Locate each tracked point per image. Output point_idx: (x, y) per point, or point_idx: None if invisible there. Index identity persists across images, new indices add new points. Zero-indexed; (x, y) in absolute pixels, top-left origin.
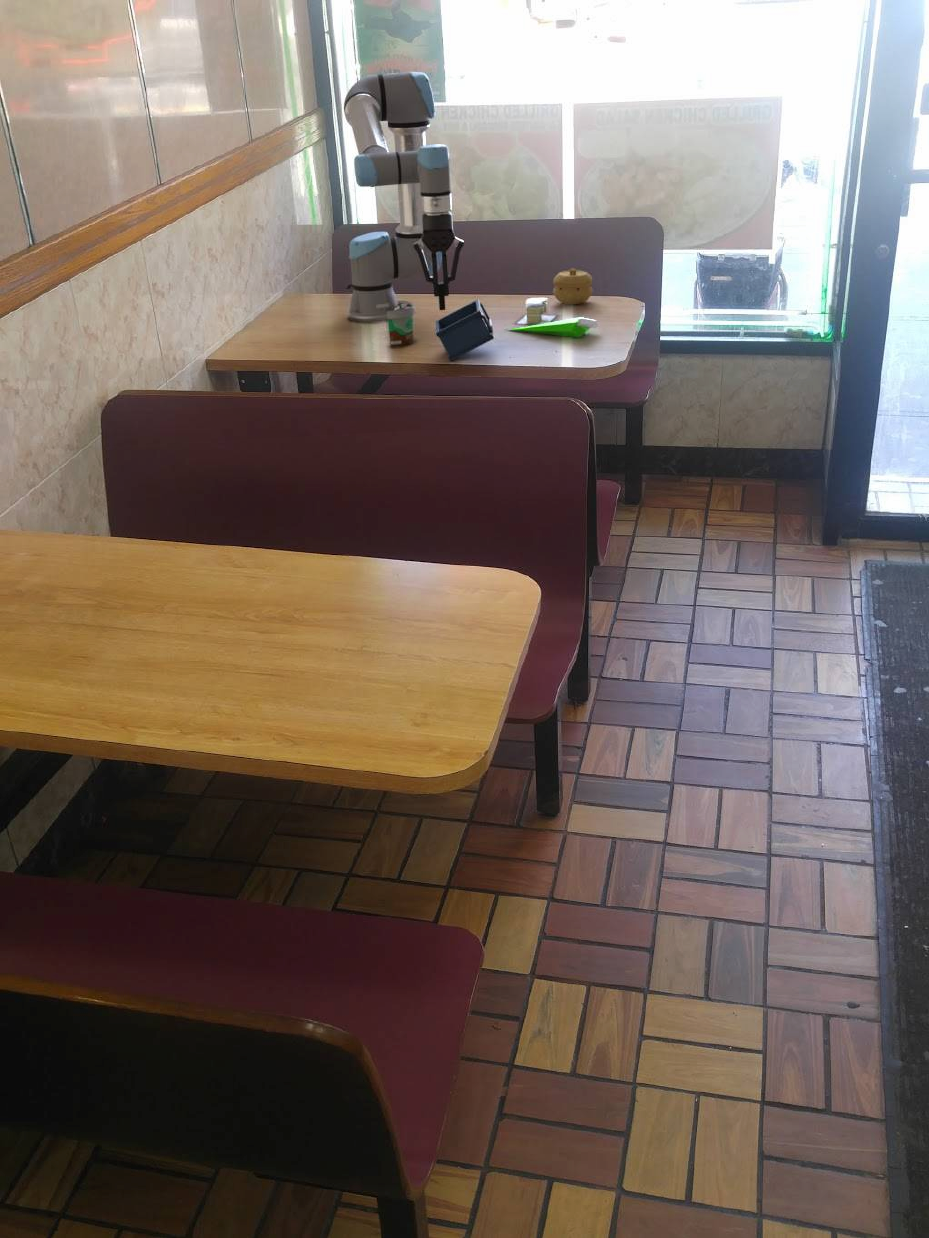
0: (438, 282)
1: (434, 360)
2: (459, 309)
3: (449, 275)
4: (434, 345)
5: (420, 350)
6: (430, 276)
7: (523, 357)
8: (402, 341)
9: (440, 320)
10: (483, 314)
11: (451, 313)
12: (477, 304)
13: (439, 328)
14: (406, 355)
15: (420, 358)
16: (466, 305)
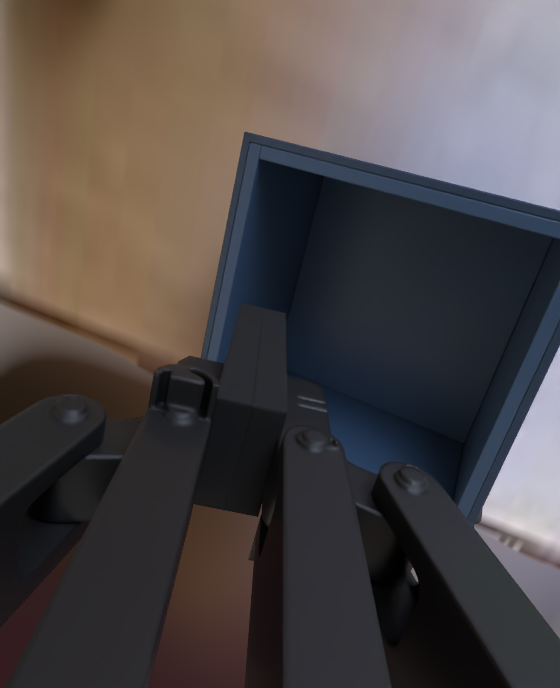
0: (216, 417)
1: (202, 329)
2: (423, 200)
3: (361, 512)
4: (253, 54)
5: (163, 128)
6: (85, 483)
7: (556, 432)
8: None
9: (272, 162)
10: (479, 521)
11: (358, 175)
12: (528, 380)
13: (234, 307)
14: (84, 193)
15: (145, 273)
16: (492, 201)
